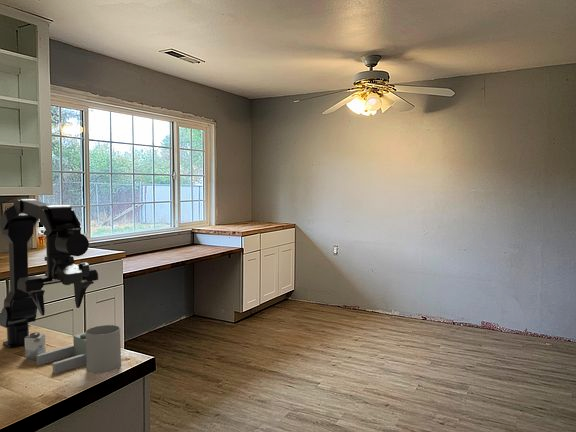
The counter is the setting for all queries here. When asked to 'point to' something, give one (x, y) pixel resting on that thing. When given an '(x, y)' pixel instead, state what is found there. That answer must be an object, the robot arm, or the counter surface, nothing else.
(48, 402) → the counter surface
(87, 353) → the cup
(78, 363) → the grey u-shaped bracket
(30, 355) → the bottle
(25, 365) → the counter surface
